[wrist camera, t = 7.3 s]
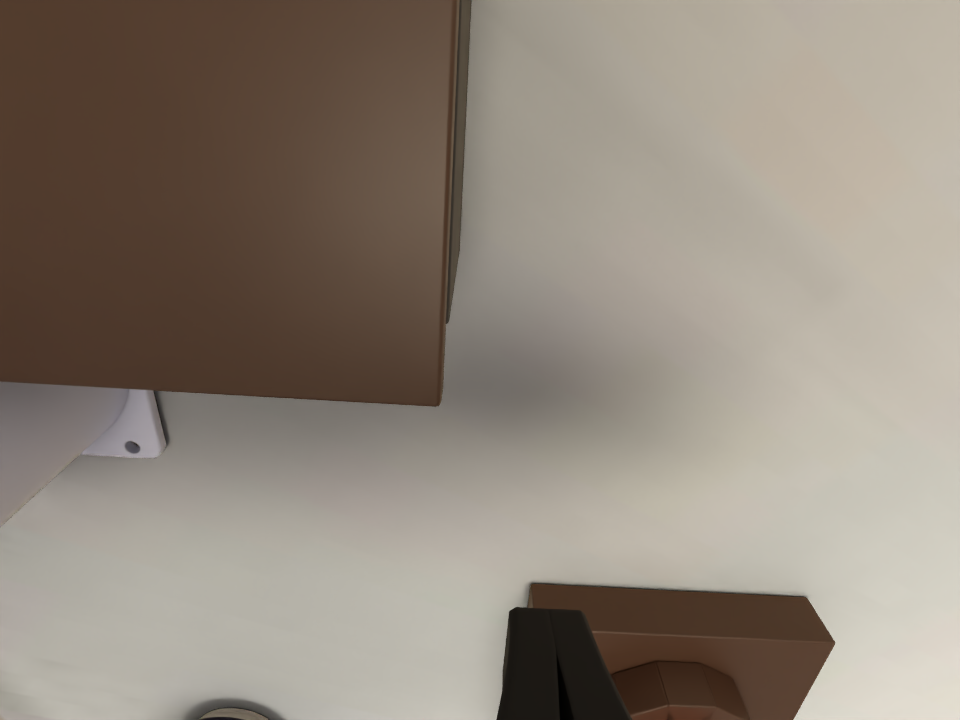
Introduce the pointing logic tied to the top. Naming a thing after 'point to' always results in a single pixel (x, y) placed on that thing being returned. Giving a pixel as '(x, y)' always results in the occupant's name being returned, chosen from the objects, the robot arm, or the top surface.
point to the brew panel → (700, 649)
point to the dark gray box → (458, 146)
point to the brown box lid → (227, 195)
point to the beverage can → (232, 715)
